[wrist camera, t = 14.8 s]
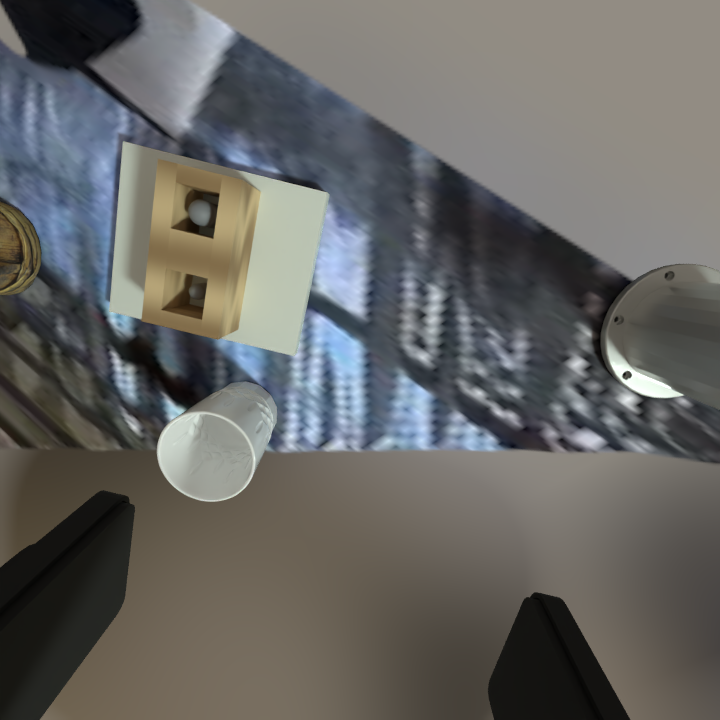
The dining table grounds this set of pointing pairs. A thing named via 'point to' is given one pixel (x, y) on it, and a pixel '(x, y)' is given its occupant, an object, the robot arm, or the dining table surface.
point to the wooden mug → (17, 251)
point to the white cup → (218, 442)
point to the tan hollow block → (198, 251)
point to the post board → (269, 248)
